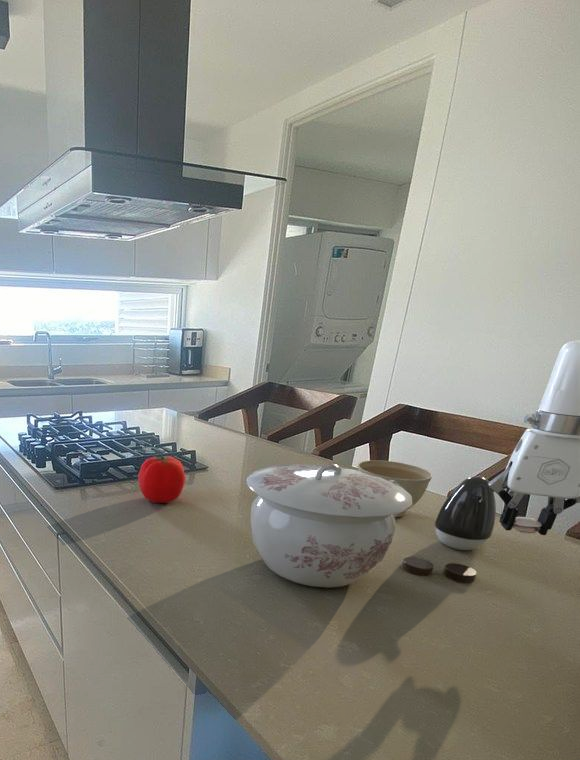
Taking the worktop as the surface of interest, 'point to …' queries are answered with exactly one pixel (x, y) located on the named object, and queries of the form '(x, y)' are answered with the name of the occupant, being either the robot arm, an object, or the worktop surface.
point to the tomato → (161, 479)
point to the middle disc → (459, 572)
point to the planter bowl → (400, 476)
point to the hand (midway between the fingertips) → (522, 528)
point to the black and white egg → (467, 515)
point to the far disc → (417, 566)
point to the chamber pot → (323, 521)
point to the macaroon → (526, 525)
